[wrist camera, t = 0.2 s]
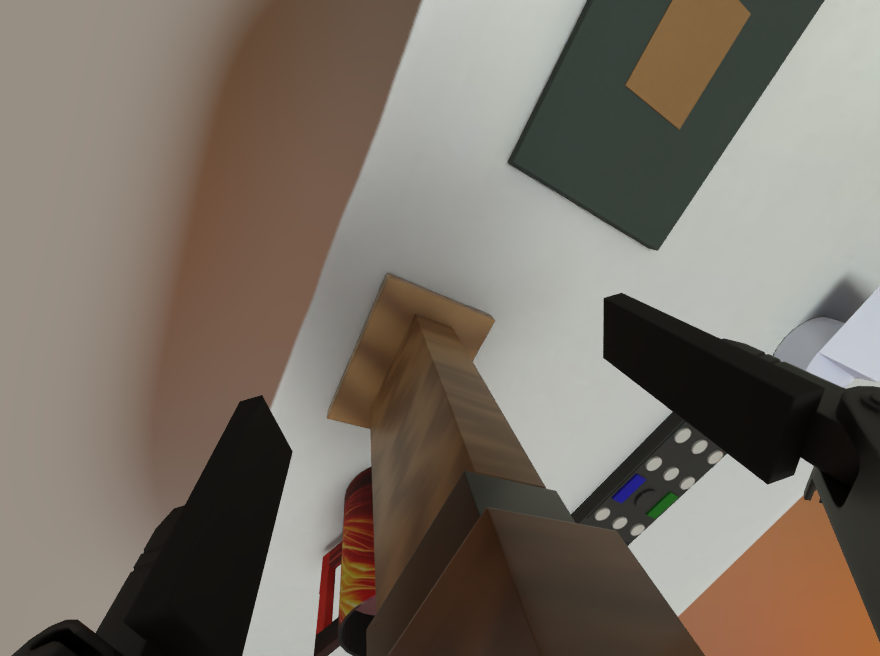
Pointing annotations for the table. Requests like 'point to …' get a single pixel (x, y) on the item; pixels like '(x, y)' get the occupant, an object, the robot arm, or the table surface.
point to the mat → (653, 102)
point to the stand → (422, 415)
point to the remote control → (650, 479)
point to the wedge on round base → (838, 345)
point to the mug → (350, 576)
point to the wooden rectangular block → (522, 585)
